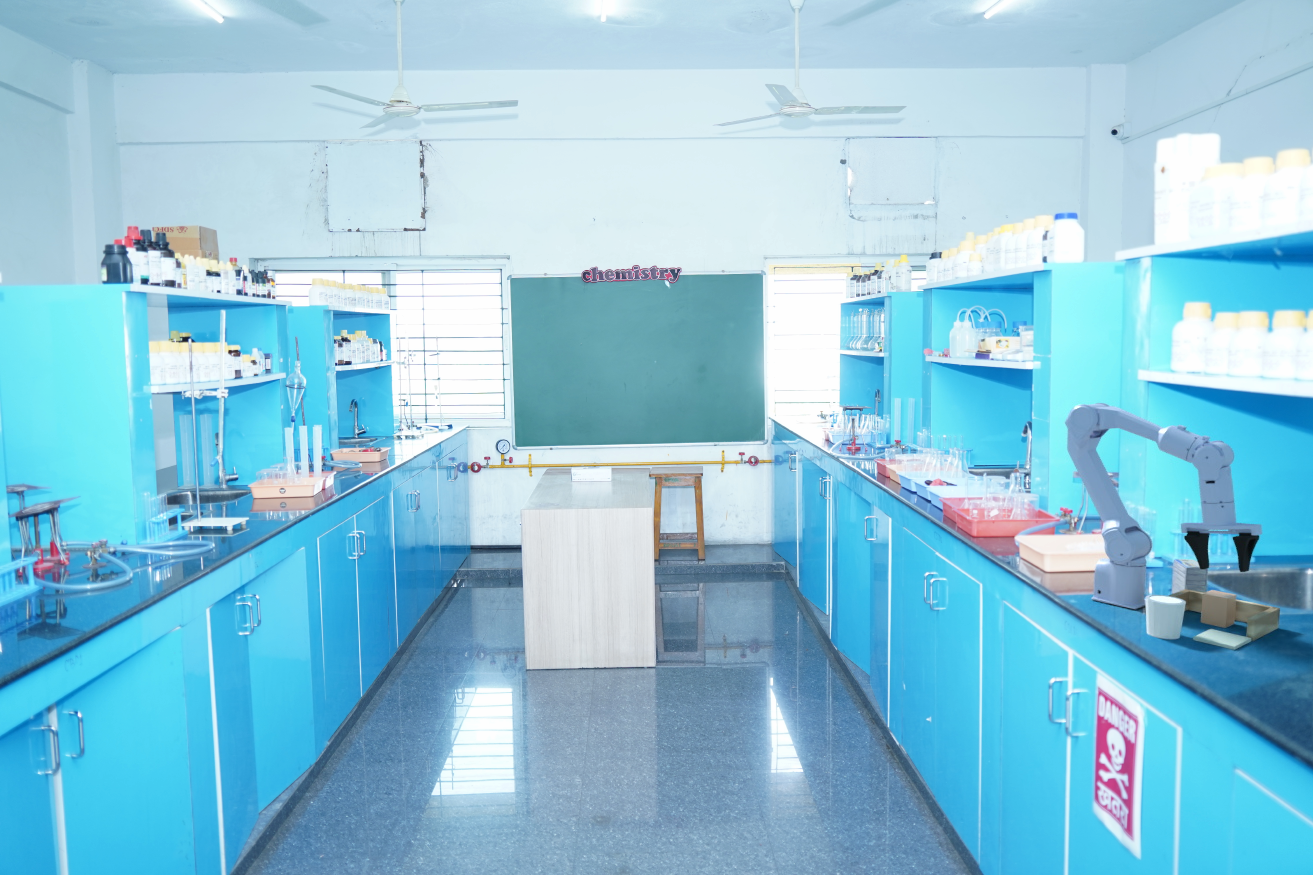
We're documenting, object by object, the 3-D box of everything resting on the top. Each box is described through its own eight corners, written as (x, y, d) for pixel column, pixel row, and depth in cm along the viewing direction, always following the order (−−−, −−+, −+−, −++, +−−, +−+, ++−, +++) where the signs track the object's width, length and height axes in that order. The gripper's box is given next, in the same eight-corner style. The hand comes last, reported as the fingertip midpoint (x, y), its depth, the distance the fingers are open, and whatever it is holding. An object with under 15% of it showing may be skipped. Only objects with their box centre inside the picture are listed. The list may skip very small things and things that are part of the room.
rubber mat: (1193, 639, 173) (1193, 636, 173) (1210, 631, 178) (1210, 628, 178) (1234, 649, 167) (1234, 646, 167) (1251, 641, 172) (1251, 637, 172)
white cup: (1191, 639, 173) (1194, 603, 172) (1156, 640, 172) (1159, 604, 172) (1168, 628, 180) (1171, 593, 179) (1135, 629, 179) (1137, 594, 178)
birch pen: (1156, 618, 186) (1157, 599, 186) (1184, 607, 194) (1185, 588, 194) (1253, 640, 172) (1254, 620, 172) (1278, 627, 181) (1280, 608, 180)
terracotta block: (1200, 622, 184) (1202, 593, 183) (1209, 618, 187) (1211, 589, 186) (1225, 628, 180) (1227, 598, 180) (1234, 623, 183) (1236, 594, 183)
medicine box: (1206, 607, 194) (1209, 567, 193) (1183, 606, 195) (1186, 566, 194) (1192, 597, 202) (1195, 559, 201) (1170, 596, 203) (1173, 558, 202)
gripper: (1267, 499, 178) (1274, 569, 178) (1192, 499, 190) (1198, 564, 190) (1247, 503, 174) (1254, 574, 174) (1172, 503, 187) (1179, 569, 187)
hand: (1224, 570), depth 182 cm, fingers open, 7 cm apart
